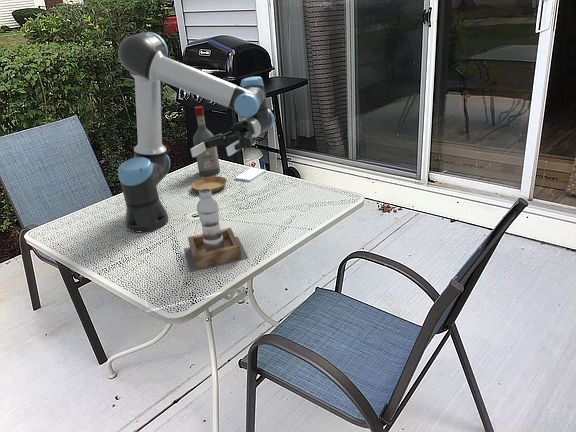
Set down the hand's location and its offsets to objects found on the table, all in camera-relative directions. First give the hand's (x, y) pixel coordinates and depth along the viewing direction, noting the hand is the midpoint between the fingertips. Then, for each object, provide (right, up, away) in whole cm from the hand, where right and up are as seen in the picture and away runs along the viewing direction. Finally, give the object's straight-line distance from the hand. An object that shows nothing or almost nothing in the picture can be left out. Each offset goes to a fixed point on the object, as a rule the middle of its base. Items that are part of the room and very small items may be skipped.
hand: (209, 152), depth 151 cm
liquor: (-12, 0, +74) cm, 75 cm away
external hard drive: (+7, -2, +66) cm, 67 cm away
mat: (+1, -31, +4) cm, 32 cm away
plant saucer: (-9, -8, +57) cm, 58 cm away
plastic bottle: (+1, -30, +4) cm, 30 cm away
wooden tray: (+1, -31, +4) cm, 31 cm away
